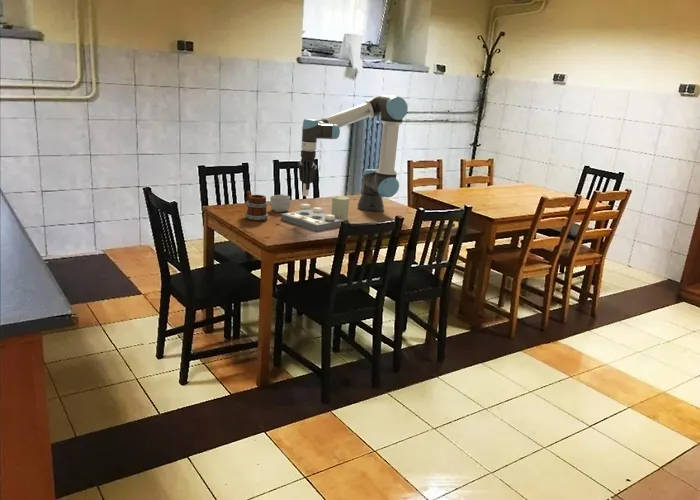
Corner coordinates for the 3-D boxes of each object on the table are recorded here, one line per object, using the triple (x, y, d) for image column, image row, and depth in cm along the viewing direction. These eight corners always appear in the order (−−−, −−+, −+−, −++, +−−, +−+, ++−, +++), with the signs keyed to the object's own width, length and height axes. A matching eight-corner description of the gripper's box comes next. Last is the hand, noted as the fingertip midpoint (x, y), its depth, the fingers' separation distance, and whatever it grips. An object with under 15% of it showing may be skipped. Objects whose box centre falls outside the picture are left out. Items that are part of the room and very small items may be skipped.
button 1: (305, 207, 314) (305, 203, 313) (312, 209, 311) (312, 205, 310) (298, 208, 310) (298, 204, 310) (305, 210, 307) (305, 206, 307)
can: (328, 216, 318) (329, 194, 315) (344, 216, 322) (345, 194, 318) (334, 221, 310) (336, 198, 307) (350, 220, 314) (352, 198, 310)
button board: (308, 214, 320) (309, 208, 319) (344, 225, 303) (344, 219, 302) (281, 219, 305) (281, 213, 304) (316, 231, 289) (317, 224, 288)
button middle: (317, 210, 308) (317, 206, 308) (324, 212, 305) (324, 208, 305) (310, 211, 305) (310, 208, 304) (317, 213, 302) (317, 210, 301)
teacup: (286, 214, 316) (286, 199, 314) (266, 211, 318) (267, 197, 316) (293, 208, 329) (294, 194, 327) (275, 206, 331) (275, 192, 329)
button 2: (329, 217, 303) (329, 213, 303) (336, 219, 300) (337, 216, 300) (322, 219, 300) (323, 215, 299) (329, 221, 297) (330, 217, 296)
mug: (253, 223, 294) (251, 192, 291) (238, 221, 304) (236, 191, 302) (273, 220, 301) (271, 190, 299) (258, 218, 312) (256, 190, 309)
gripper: (294, 148, 303) (291, 193, 310) (312, 152, 295) (309, 198, 302) (304, 147, 308) (301, 192, 315) (322, 151, 300) (319, 197, 307)
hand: (305, 195), depth 308 cm, fingers closed
